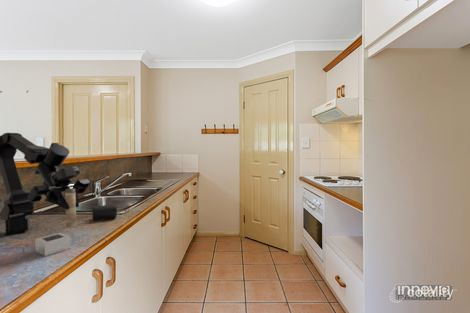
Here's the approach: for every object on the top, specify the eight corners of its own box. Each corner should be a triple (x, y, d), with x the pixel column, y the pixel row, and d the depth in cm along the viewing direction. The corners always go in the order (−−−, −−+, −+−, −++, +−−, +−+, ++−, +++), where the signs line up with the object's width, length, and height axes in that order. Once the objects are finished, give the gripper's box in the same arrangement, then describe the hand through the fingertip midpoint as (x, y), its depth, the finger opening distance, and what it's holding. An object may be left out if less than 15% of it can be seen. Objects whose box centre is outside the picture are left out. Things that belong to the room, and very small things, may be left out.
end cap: (92, 222, 109) (92, 208, 109) (92, 219, 115) (92, 204, 115) (117, 219, 114) (116, 205, 114) (115, 215, 120) (115, 202, 120)
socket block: (35, 251, 79) (35, 239, 79) (60, 243, 85) (60, 232, 85) (45, 256, 76) (44, 243, 75) (70, 248, 82) (70, 236, 82)
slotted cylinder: (64, 227, 83) (63, 190, 83) (68, 224, 86) (66, 188, 86) (74, 226, 84) (73, 189, 84) (77, 224, 87) (76, 188, 87)
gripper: (31, 161, 77) (54, 198, 73) (86, 158, 94) (107, 188, 91) (17, 184, 80) (39, 220, 77) (73, 177, 98) (93, 207, 94)
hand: (73, 207), depth 84 cm, fingers closed on slotted cylinder, 3 cm apart
